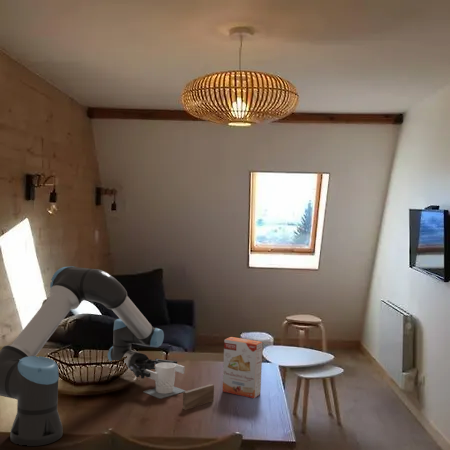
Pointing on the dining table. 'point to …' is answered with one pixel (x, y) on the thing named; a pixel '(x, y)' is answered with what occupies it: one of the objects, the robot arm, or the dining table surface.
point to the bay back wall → (198, 396)
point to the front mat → (160, 396)
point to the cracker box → (242, 367)
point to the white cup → (165, 377)
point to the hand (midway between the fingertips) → (170, 373)
